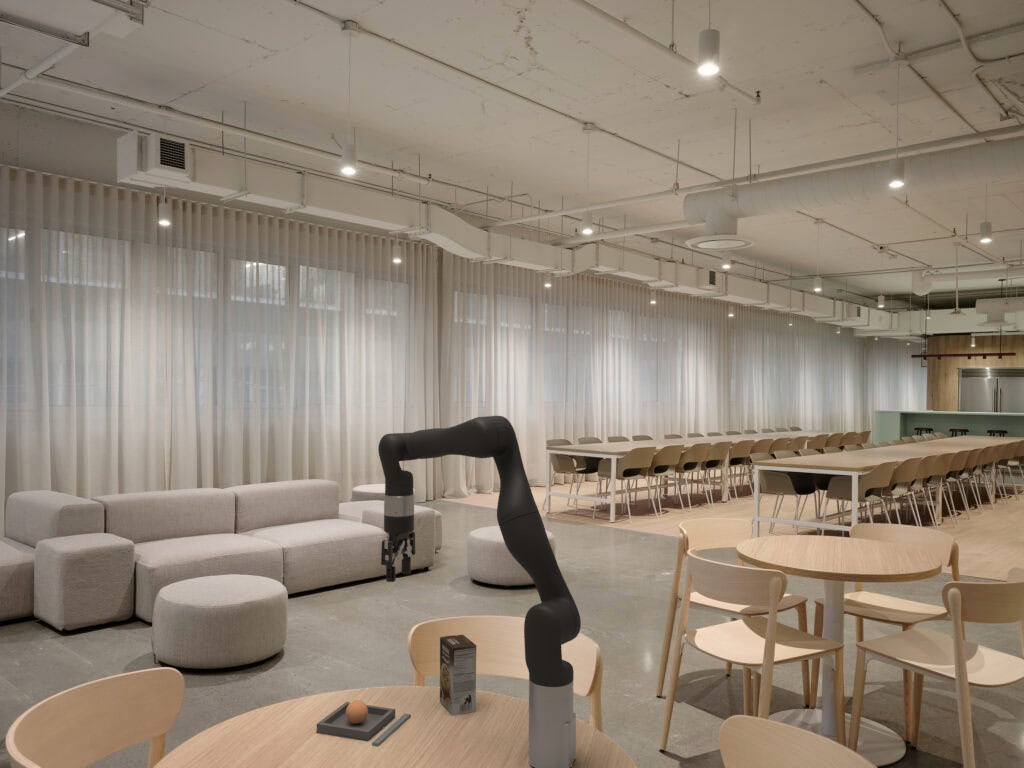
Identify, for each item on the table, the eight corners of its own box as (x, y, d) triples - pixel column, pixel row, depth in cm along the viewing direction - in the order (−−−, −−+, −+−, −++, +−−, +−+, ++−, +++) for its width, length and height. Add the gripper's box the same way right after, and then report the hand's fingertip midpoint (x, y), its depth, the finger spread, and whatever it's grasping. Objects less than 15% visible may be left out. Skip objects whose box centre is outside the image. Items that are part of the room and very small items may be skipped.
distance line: (410, 716, 182) (410, 714, 182) (378, 746, 167) (378, 743, 167) (404, 715, 182) (404, 713, 182) (372, 745, 167) (372, 742, 167)
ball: (371, 720, 179) (371, 698, 179) (361, 728, 174) (361, 706, 174) (352, 717, 180) (352, 695, 181) (341, 725, 176) (341, 703, 176)
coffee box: (438, 702, 191) (439, 636, 191) (462, 697, 193) (463, 633, 194) (451, 716, 182) (451, 647, 183) (476, 711, 185) (477, 644, 185)
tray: (395, 717, 181) (395, 709, 181) (368, 741, 169) (368, 732, 169) (346, 710, 185) (346, 701, 185) (316, 732, 173) (316, 723, 173)
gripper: (399, 518, 185) (399, 585, 185) (424, 509, 199) (424, 572, 199) (372, 516, 188) (371, 583, 187) (398, 507, 201) (397, 570, 201)
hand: (398, 577), depth 193 cm, fingers open, 8 cm apart
